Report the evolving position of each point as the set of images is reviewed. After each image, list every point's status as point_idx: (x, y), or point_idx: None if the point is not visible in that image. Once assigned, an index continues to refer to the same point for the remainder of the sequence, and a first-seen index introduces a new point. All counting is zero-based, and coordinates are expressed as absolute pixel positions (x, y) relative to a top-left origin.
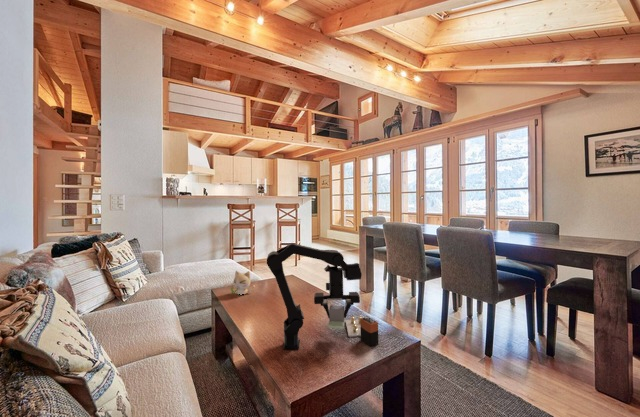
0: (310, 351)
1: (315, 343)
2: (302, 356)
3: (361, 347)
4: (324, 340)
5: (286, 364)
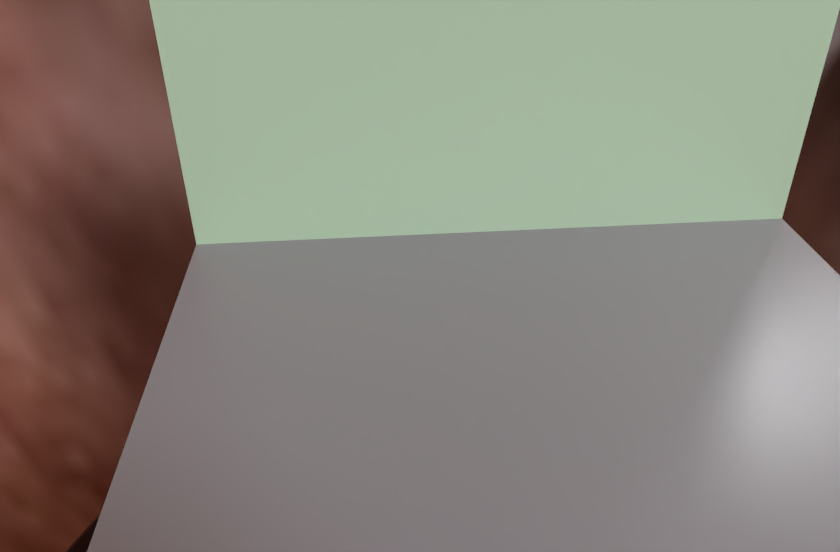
0: (71, 447)
1: (44, 257)
2: (21, 541)
3: (817, 249)
4: (168, 139)
5: None
